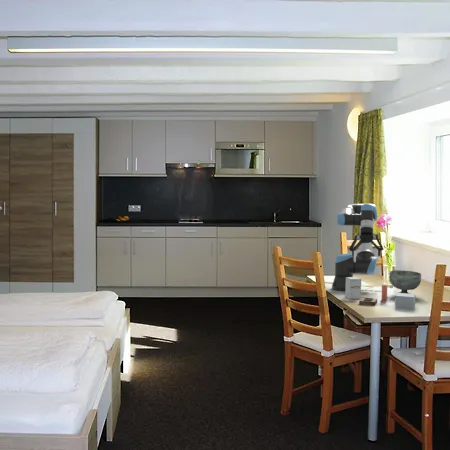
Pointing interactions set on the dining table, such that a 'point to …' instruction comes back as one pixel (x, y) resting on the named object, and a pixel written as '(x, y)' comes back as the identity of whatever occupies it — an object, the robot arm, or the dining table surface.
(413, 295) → the cover
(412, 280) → the bowl
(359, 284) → the supplement box
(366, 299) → the board
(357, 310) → the dining table surface
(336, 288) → the robot arm
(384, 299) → the peg
